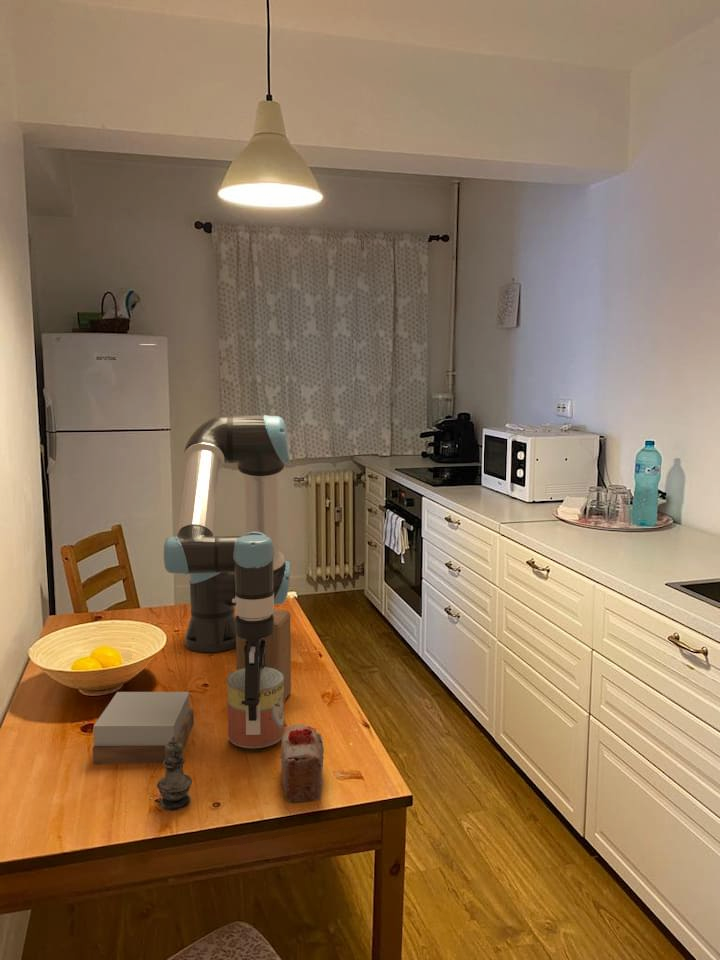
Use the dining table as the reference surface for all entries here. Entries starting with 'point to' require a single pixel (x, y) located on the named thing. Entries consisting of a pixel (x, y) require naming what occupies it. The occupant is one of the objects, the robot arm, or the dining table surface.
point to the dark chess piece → (174, 779)
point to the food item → (302, 763)
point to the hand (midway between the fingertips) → (256, 719)
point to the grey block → (142, 719)
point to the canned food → (269, 708)
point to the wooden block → (274, 648)
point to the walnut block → (140, 749)
